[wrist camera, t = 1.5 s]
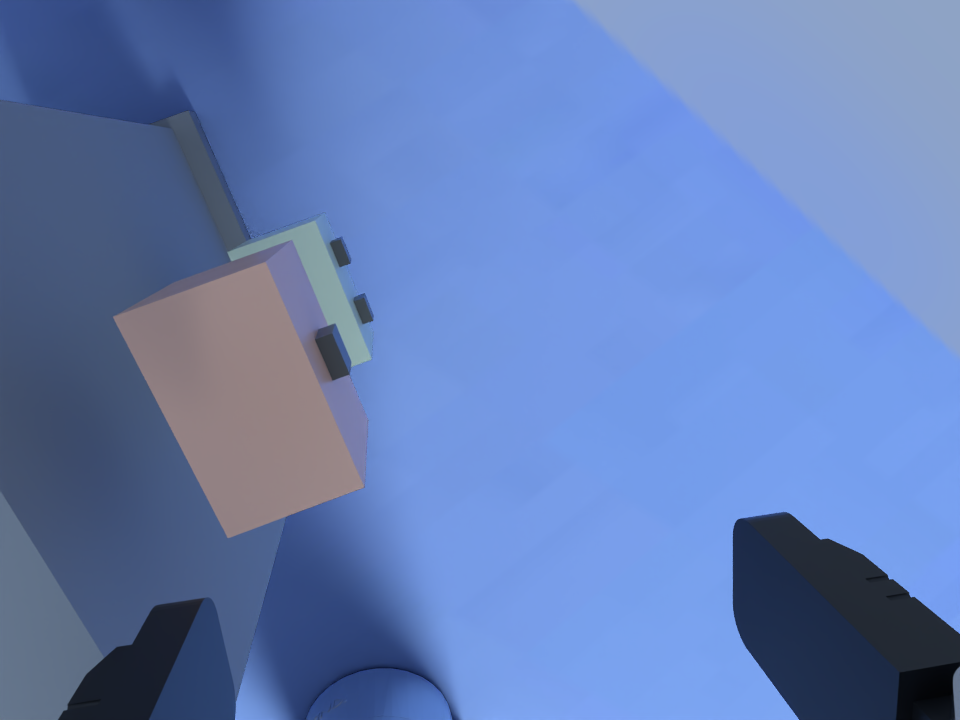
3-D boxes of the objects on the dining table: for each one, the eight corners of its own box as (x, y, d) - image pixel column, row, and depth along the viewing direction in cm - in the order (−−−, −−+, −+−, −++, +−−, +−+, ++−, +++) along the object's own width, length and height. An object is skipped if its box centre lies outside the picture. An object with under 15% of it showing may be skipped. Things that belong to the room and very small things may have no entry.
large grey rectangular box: (195, 112, 33) (-226, -3, 10) (332, 425, 38) (257, 817, 15) (32, 169, 33) (-773, 182, 10) (193, 476, 38) (-97, 954, 15)
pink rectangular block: (307, 234, 17) (285, 254, 13) (382, 415, 18) (382, 480, 15) (174, 282, 17) (112, 316, 13) (260, 460, 18) (227, 538, 14)
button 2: (334, 208, 26) (326, 216, 23) (382, 329, 28) (382, 355, 24) (249, 239, 26) (226, 252, 23) (302, 358, 28) (289, 389, 24)
